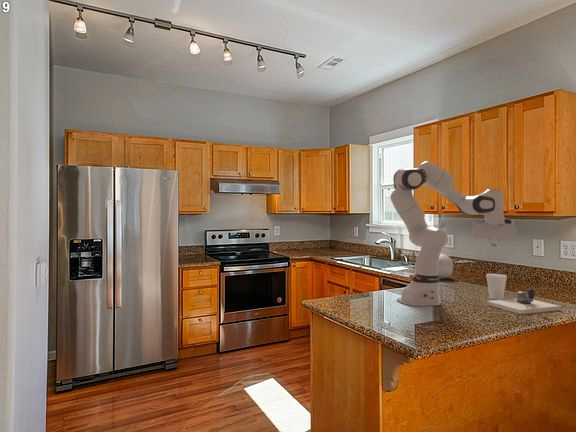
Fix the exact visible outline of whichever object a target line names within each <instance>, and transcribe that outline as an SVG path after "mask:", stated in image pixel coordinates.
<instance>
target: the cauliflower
mask: <svg viewBox="0 0 576 432" xmlns="http://www.w3.org/2000/svg"><path fill="white" fill-rule="evenodd" d="M414 269H415V270H416V261H415V263H414ZM453 269H454V263H453V260H452V259H451V257H450V256H449V255H447V254H445V253H440V257H439V263H438V275H439V280H441V279H446V278H449V277H451V275H452V273H453Z"/></svg>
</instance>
